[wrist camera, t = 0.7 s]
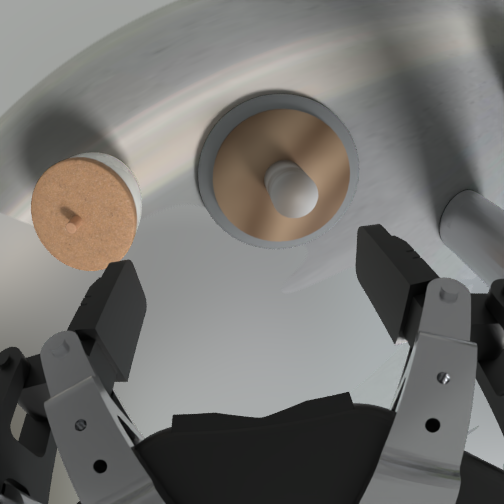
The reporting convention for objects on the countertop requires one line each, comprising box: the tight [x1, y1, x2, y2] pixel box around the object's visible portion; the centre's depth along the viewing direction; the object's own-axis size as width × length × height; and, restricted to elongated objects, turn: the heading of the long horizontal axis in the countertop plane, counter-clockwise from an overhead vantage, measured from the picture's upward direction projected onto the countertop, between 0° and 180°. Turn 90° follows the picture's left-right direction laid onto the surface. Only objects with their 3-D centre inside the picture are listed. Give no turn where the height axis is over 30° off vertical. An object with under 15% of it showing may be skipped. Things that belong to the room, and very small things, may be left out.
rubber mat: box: [198, 94, 359, 249], centre depth 31 cm, size 17×17×1 cm
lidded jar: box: [31, 152, 142, 271], centre depth 26 cm, size 11×11×9 cm
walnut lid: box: [213, 109, 350, 242], centre depth 28 cm, size 14×14×6 cm
